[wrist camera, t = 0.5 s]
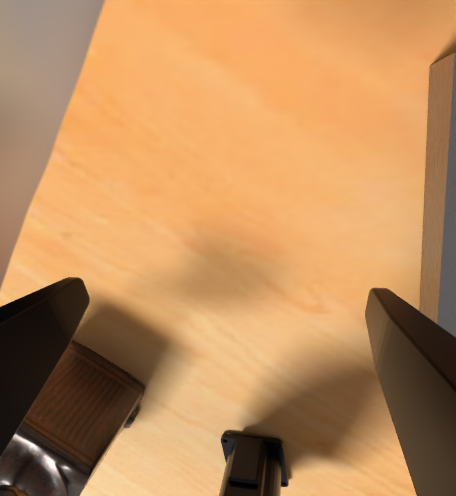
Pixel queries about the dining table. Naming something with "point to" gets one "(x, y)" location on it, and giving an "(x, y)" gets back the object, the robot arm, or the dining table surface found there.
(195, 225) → the dining table surface
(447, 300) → the grey fixture plate
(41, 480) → the brown coffee grinder
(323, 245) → the dining table surface
